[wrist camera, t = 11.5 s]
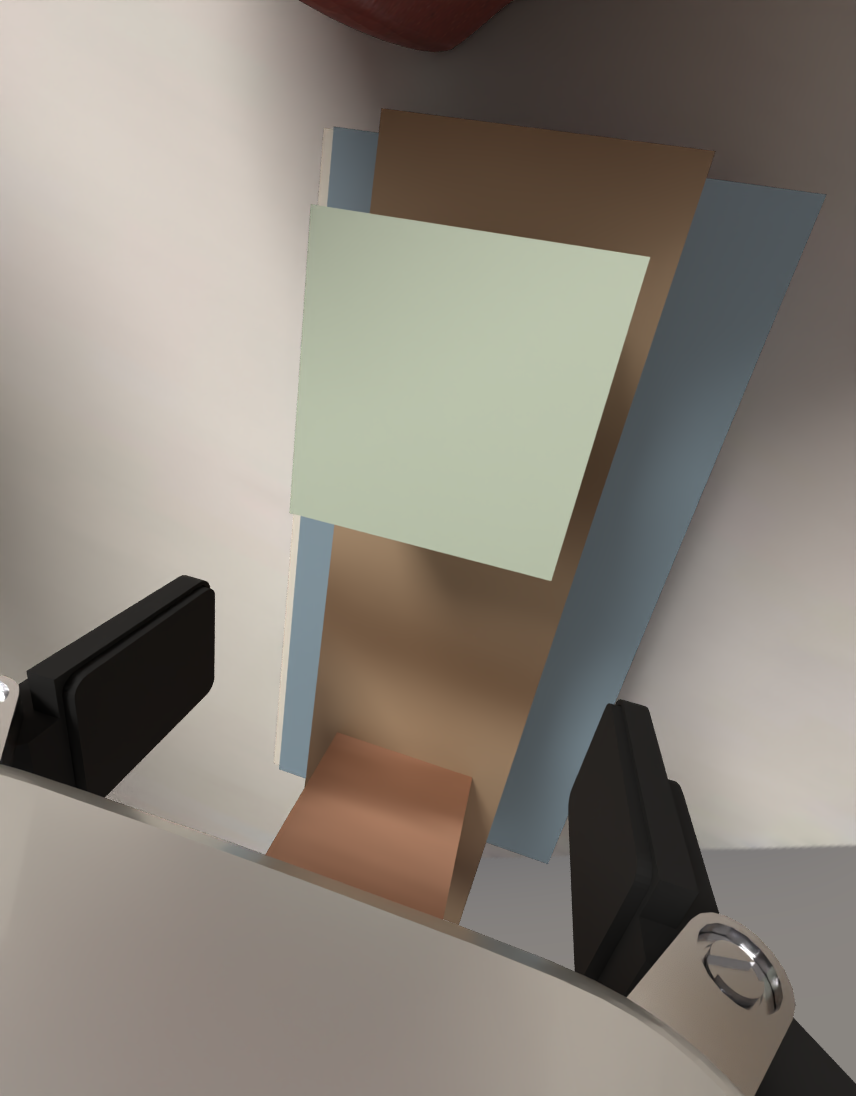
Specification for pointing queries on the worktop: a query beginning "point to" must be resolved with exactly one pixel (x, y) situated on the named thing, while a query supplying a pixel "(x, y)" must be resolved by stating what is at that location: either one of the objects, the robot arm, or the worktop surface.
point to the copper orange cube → (378, 824)
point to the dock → (628, 495)
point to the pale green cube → (454, 383)
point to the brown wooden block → (537, 604)
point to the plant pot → (413, 19)
